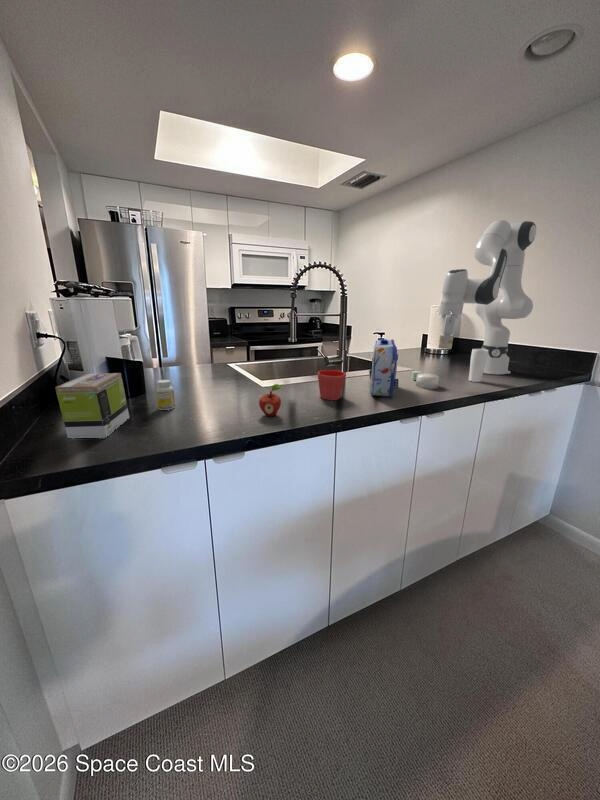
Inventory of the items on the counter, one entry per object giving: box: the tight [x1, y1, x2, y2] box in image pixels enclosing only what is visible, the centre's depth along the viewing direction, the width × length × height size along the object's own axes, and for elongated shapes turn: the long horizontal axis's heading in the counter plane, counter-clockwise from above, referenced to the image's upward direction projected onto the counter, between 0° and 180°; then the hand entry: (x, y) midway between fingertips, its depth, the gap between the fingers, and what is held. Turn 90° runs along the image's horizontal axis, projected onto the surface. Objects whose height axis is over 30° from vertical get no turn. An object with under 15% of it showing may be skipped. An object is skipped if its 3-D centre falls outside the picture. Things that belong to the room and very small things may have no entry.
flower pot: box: [317, 369, 347, 401], centre depth 121 cm, size 11×11×10 cm
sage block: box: [410, 370, 423, 381], centre depth 151 cm, size 4×4×4 cm
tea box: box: [54, 372, 130, 439], centre depth 88 cm, size 15×10×15 cm, turn 5°
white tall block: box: [468, 348, 489, 383], centre depth 148 cm, size 7×7×15 cm
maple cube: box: [437, 334, 454, 350], centre depth 136 cm, size 5×5×5 cm
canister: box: [415, 372, 440, 390], centre depth 140 cm, size 9×9×5 cm
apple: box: [258, 383, 282, 417], centre depth 101 cm, size 8×7×10 cm
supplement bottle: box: [155, 379, 176, 411], centre depth 106 cm, size 5×5×10 cm
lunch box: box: [369, 338, 399, 398], centre depth 128 cm, size 28×10×22 cm, turn 168°
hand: (445, 344), depth 136 cm, fingers closed on maple cube, 5 cm apart
